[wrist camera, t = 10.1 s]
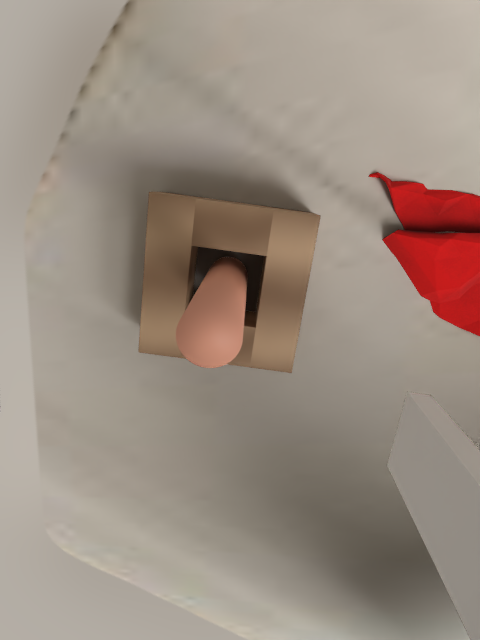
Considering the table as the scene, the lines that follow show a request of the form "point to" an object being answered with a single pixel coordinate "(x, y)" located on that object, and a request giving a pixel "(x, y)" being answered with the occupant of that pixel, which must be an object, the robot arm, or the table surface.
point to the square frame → (232, 235)
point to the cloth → (439, 248)
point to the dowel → (215, 316)
